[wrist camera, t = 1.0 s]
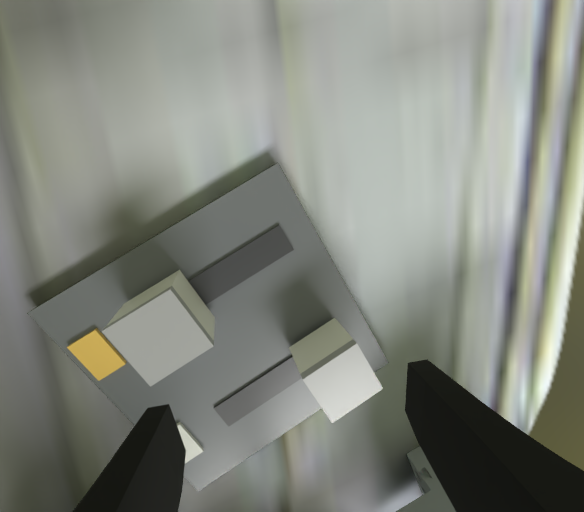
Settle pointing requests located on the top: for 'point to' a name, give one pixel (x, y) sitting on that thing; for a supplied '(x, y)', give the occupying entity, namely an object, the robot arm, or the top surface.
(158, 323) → the slider
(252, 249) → the switch console
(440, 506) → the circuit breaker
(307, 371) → the slider
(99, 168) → the top surface
